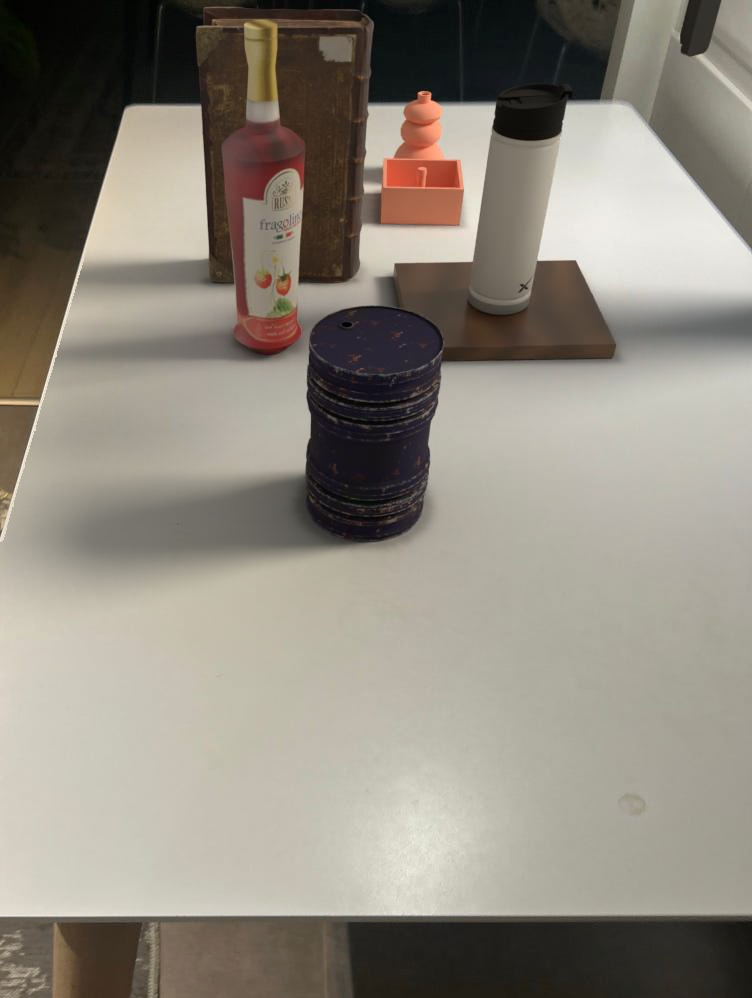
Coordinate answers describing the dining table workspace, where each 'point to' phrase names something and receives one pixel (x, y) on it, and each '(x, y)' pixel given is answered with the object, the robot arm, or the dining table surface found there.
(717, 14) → the robot arm
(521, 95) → the travel mug
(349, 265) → the book
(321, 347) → the dark blue cylinder
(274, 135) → the liquor
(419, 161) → the pottery
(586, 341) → the walnut board
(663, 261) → the dining table surface
